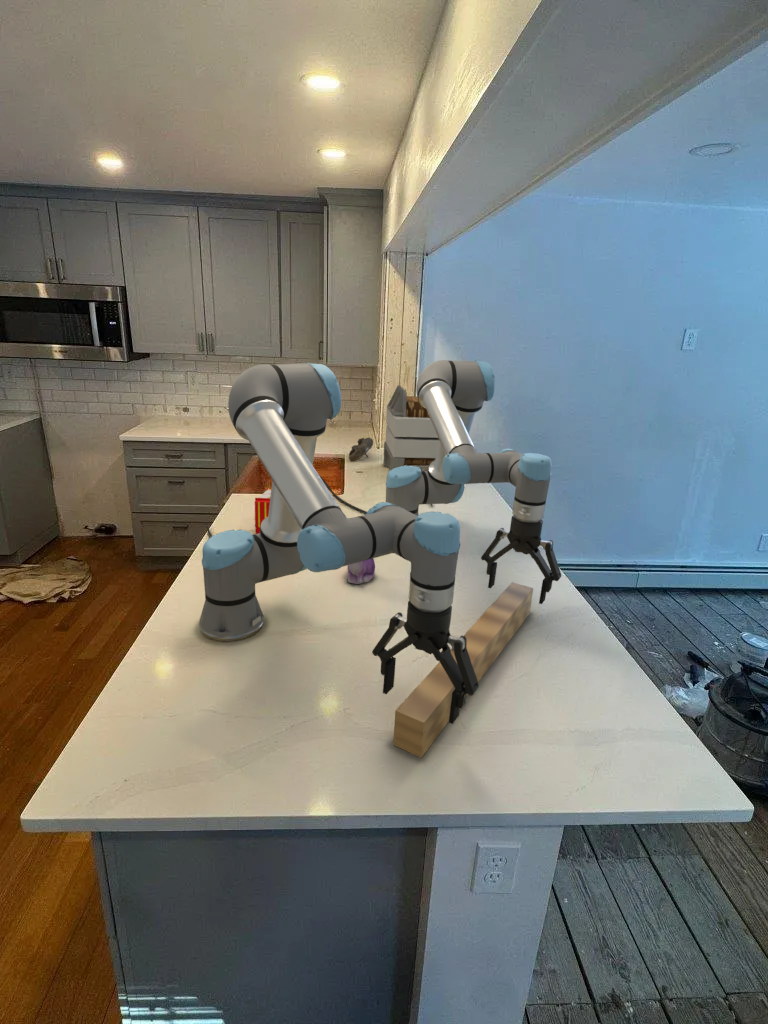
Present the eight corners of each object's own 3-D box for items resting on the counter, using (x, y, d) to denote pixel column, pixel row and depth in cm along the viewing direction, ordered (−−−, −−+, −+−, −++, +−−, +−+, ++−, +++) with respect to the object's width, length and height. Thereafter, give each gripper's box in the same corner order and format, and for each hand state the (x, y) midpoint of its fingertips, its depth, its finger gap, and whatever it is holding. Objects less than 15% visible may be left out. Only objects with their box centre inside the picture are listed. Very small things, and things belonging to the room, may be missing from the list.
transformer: (382, 463, 289) (386, 382, 275) (445, 464, 293) (451, 384, 279) (390, 482, 257) (394, 392, 243) (460, 483, 261) (468, 394, 247)
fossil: (348, 443, 308) (370, 428, 303) (359, 457, 311) (381, 442, 306) (342, 457, 289) (365, 441, 284) (354, 472, 292) (377, 456, 287)
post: (508, 607, 153) (512, 582, 151) (529, 613, 151) (533, 588, 148) (393, 745, 103) (395, 710, 101) (421, 758, 100) (424, 722, 98)
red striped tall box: (297, 485, 216) (285, 500, 186) (296, 519, 219) (286, 539, 189) (264, 484, 215) (248, 499, 186) (265, 519, 218) (249, 538, 189)
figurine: (352, 587, 160) (354, 538, 155) (338, 573, 168) (339, 526, 163) (382, 582, 164) (384, 534, 159) (367, 567, 172) (369, 521, 167)
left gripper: (356, 589, 99) (352, 688, 106) (491, 637, 87) (475, 745, 95) (379, 573, 105) (373, 668, 113) (507, 616, 93) (491, 719, 101)
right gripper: (474, 510, 141) (465, 585, 149) (575, 534, 129) (560, 615, 137) (485, 502, 147) (476, 574, 155) (583, 524, 136) (568, 602, 143)
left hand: (420, 704), depth 104 cm, fingers open, 13 cm apart
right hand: (515, 593), depth 146 cm, fingers open, 13 cm apart
